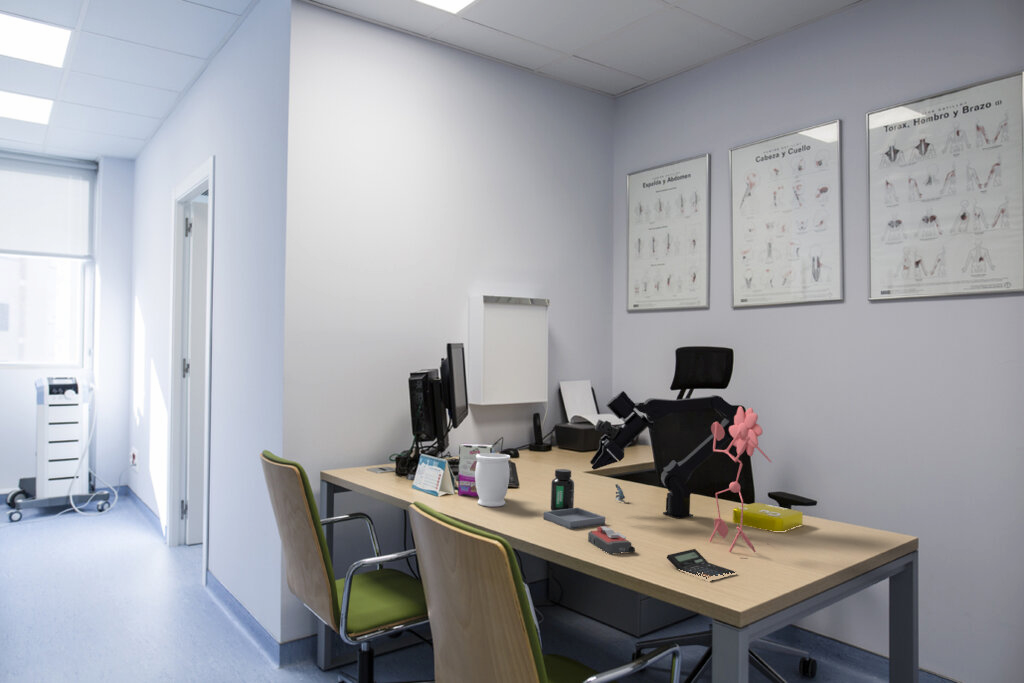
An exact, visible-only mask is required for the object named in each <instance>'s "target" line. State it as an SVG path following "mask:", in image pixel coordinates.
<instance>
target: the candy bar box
mask: <svg viewBox="0 0 1024 683" xmlns="http://www.w3.org/2000/svg"><path fill="white" fill-rule="evenodd" d="M458 448H459V449H458V474H457V476H458V478H457V479H458V482H457V486H458V487H457V495H458V496H461V497H462V496H464V497H465V496H466V497H475V498H479V496H478V494H477V490H476V481H475V470H476V464H477V461H478V460H477V459H476V455H477V454H482V453H496V445H494V444H481V443H480V444H479V443H478V444H477V443H461V444H460V445H459V446H458Z"/></svg>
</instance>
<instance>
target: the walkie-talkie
mask: <svg viewBox="0 0 1024 683" xmlns="http://www.w3.org/2000/svg"><path fill="white" fill-rule="evenodd" d="M596 529H597V530H591V531H589V532H587V533H588V534H587V536H588V537H587V542H588V543H590V544H592V546H595V547H596V548H598V549H599V548H600V550H601V549H602V550H601V551H602V552H604V551H605V552H604V553H606V552H607V553H609V554H608V555H614V554H613V553H621V552H631V553H634V552H635V551H636V548H635V547H634V546H632V541H631V542H630V541H629V540H627V538H626V537H627V536H625V535H623V534H622V533H621V532H619V531H616V532H615V531H614V530H613V529H612V528H611V527H609V526H605V525H604V526H602V525H600V526H597V528H596ZM607 553H606V554H607Z"/></svg>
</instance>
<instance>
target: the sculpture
mask: <svg viewBox="0 0 1024 683" xmlns="http://www.w3.org/2000/svg"><path fill="white" fill-rule="evenodd" d="M615 488H616V490H617V491H615V494H616V496H615V499H616V500H618V501H621V502H625V503H626V500H624V499H626V496H625V494H624V490H623V489H622V488H621V486H620V485H619V484H618V483H616V484H615Z"/></svg>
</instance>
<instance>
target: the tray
mask: <svg viewBox="0 0 1024 683" xmlns="http://www.w3.org/2000/svg"><path fill="white" fill-rule="evenodd" d="M542 518H543V520H545V521H548V522H550V523H553V524H556V525H558V526H561V527H563V528H566V529H568V530H575V529H581V528H582V527H583V528H588V527H589V526H590V527H596V526H601V525H600V524H603V525H606V516H604V515H600V514H597V513H594V512H592V511H589V510H587V509H586V510H585V509H582V508H580V507H573V508H570V509H562V510H554V511H552V510H548V511H546V510H545V511H543V517H542ZM595 525H596V526H595ZM590 527H589V528H590Z"/></svg>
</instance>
